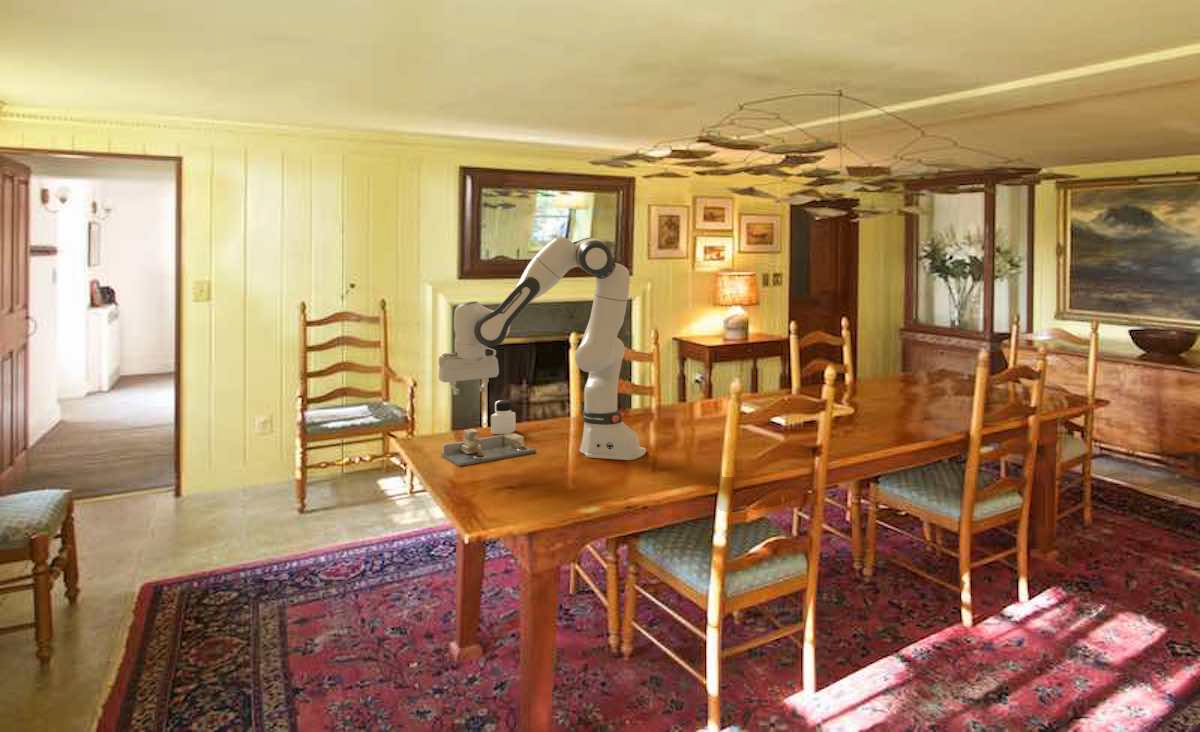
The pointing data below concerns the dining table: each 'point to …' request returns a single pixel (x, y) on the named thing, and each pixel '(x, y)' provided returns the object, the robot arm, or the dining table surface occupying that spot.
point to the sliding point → (471, 442)
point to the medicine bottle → (503, 418)
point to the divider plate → (487, 449)
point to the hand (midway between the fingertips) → (469, 392)
